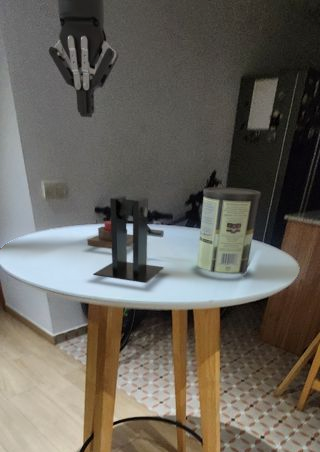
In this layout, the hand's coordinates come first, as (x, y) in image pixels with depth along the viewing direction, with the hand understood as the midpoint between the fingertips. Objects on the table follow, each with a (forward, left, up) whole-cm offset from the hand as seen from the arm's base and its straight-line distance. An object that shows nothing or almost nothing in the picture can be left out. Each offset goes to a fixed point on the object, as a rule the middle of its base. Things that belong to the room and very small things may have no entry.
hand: (86, 116), depth 70 cm
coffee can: (+30, -4, -24) cm, 39 cm away
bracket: (+15, -16, -24) cm, 32 cm away
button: (+3, +3, -20) cm, 21 cm away
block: (+3, +3, -24) cm, 24 cm away
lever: (+15, -12, -16) cm, 25 cm away
